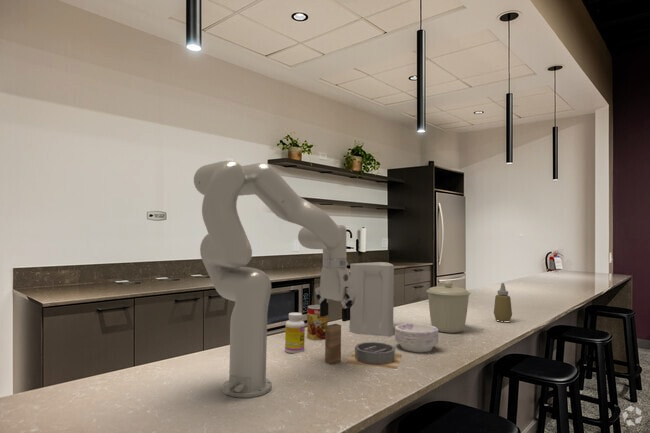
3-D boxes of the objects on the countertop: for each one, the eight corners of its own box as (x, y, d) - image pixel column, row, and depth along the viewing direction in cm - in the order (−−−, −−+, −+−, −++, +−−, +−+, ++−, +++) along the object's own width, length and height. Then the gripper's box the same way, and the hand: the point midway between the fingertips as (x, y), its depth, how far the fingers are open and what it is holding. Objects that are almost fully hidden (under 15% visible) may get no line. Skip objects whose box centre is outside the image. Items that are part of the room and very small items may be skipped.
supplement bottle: (301, 354, 141) (302, 316, 141) (282, 353, 142) (283, 315, 143) (306, 349, 147) (306, 312, 148) (288, 347, 149) (288, 311, 149)
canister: (479, 332, 176) (479, 281, 177) (451, 337, 166) (451, 284, 167) (445, 323, 191) (445, 277, 192) (417, 328, 181) (417, 279, 182)
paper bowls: (405, 341, 160) (405, 320, 160) (444, 348, 151) (444, 326, 151) (387, 350, 147) (387, 327, 148) (428, 358, 139) (428, 334, 139)
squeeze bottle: (491, 319, 202) (491, 281, 203) (509, 320, 201) (509, 282, 202) (496, 323, 194) (496, 284, 195) (514, 323, 193) (514, 284, 194)
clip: (387, 356, 136) (387, 348, 136) (375, 360, 132) (375, 352, 132) (374, 353, 140) (374, 345, 140) (362, 356, 136) (362, 349, 136)
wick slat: (340, 363, 132) (341, 325, 133) (330, 366, 129) (331, 327, 130) (335, 361, 134) (335, 323, 135) (324, 364, 131) (325, 325, 131)
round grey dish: (402, 358, 136) (402, 348, 136) (377, 367, 127) (378, 355, 127) (372, 350, 145) (372, 340, 145) (347, 357, 136) (347, 346, 136)
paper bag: (374, 339, 162) (375, 266, 163) (348, 331, 174) (349, 263, 175) (406, 332, 174) (407, 264, 175) (380, 325, 186) (381, 262, 187)
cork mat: (397, 370, 126) (397, 368, 126) (345, 365, 131) (345, 363, 131) (402, 355, 142) (402, 353, 142) (355, 351, 146) (355, 349, 146)
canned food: (318, 341, 158) (319, 309, 158) (302, 337, 163) (303, 306, 163) (331, 337, 164) (331, 306, 165) (315, 334, 169) (316, 304, 169)
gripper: (363, 265, 129) (363, 320, 129) (324, 261, 142) (324, 312, 141) (346, 266, 124) (346, 325, 124) (307, 262, 136) (307, 315, 136)
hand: (334, 318), depth 133 cm, fingers open, 9 cm apart
